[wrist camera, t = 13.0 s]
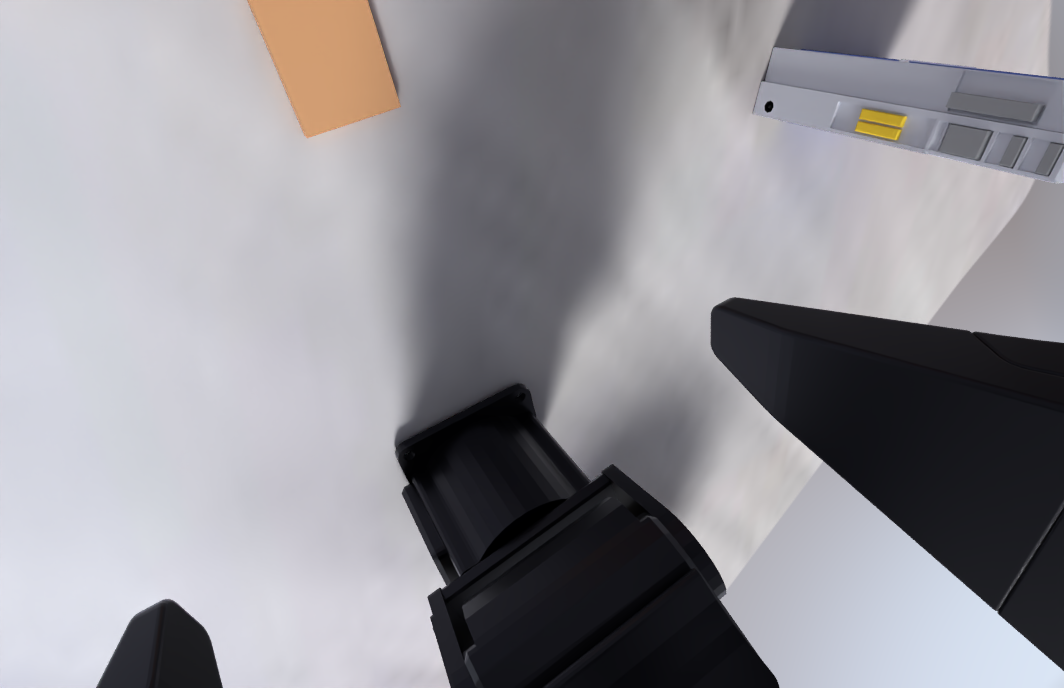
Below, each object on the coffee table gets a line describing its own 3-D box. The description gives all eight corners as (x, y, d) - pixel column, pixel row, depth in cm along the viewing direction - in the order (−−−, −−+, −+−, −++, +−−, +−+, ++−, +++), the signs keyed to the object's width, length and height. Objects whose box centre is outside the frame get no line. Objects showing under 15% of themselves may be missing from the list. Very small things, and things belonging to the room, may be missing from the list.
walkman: (880, 56, 28) (1217, 94, 19) (858, 117, 29) (1163, 179, 20) (769, 44, 24) (1122, 83, 15) (750, 114, 26) (1064, 187, 17)
